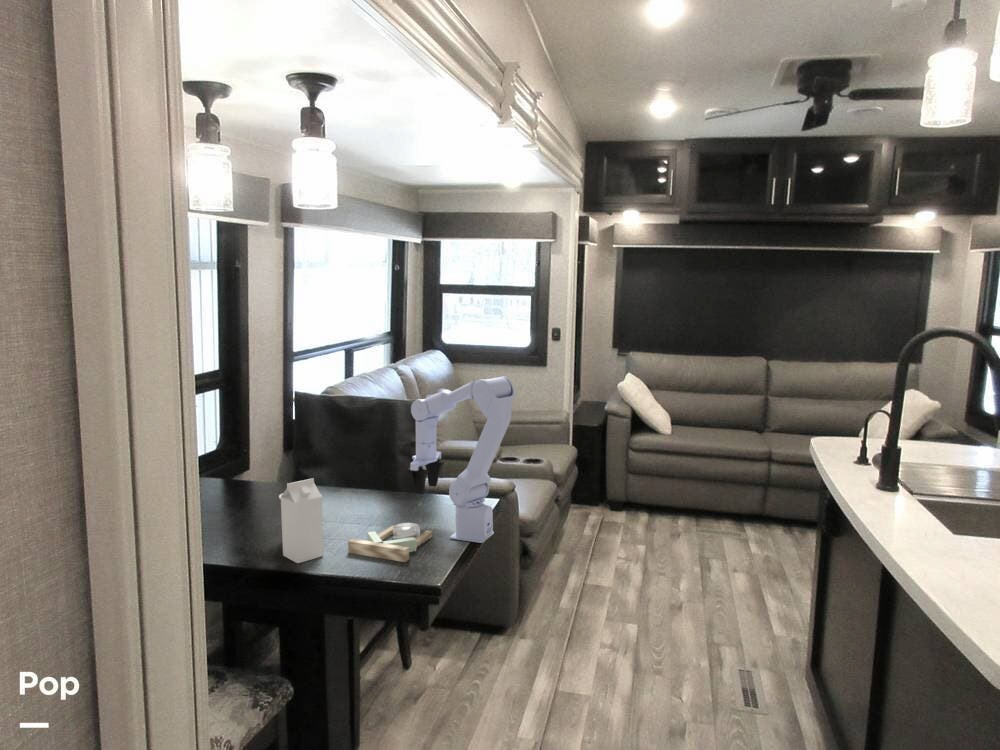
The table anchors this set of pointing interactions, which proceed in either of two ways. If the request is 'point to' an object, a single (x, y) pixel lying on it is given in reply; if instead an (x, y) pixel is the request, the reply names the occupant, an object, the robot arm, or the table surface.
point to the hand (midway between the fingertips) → (426, 489)
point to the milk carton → (302, 521)
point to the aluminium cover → (406, 531)
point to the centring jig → (387, 545)
